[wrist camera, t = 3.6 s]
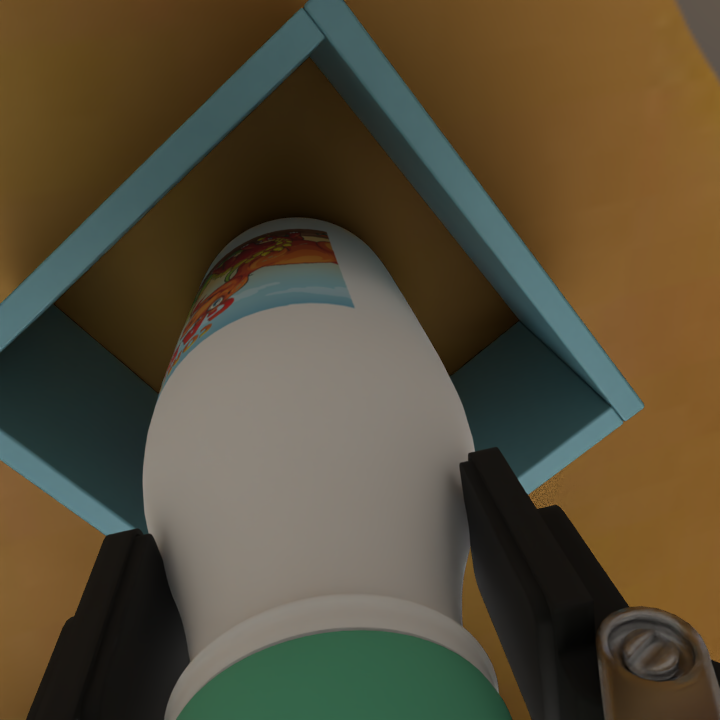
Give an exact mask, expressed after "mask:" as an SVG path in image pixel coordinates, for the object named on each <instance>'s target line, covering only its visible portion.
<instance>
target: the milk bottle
mask: <svg viewBox="0 0 720 720" xmlns="http://www.w3.org/2000/svg"><path fill="white" fill-rule="evenodd" d="M470 452H475V449H474V443H473V438H472V435H471V431H470V428H469V425H468V421H467V418H466V415H465V411H464V408H463V405H462V403H461V400H460V398H459V396H458V393H457V391H456V389H455V387H454V385H453V383H452V381H451V379H450V377H449V375H448V373H447V371H446V369H445V367H444V365H443V363H442V361H441V359H440V357H439V356H438V354H437V352H436V350H435V349H434V347H433V345H432V343H431V342H430V340H429V338H428V337H427V335H426V333H425V331H424V330H423V328H422V326H421V325H420V323H419V321H418V319H417V318H416V316H415V314H414V313H413V311H412V309H411V308H410V306H409V304H408V303H407V301H406V300H405V298H404V296H403V295H402V293H401V291H400V290H399V288H398V286H397V285H396V283H395V282H394V280H393V278H392V277H391V275H390V274H389V272H388V270H387V269H386V267H385V266H384V265H383V263H382V262H381V260H380V259H379V258H378V257H377V255H376V254H375V253H374V252H373V251H372V250H371V248H370V247H369V246H368V245H366V244H365V243H364V242H363V241H362V240H361V239H359V238H358V237H357V236H355V235H354V234H352V233H351V232H349V231H347V230H346V229H344V228H341V227H339V226H337V225H335V224H332V223H329V222H326V221H322V220H318V219H312V218H300V217H295V218H283V219H276V220H272V221H268V222H265V223H262V224H259V225H257V226H255V227H253V228H250V229H248V230H247V231H245V232H243V233H242V234H240V235H239V236H237V237H236V238H235V239H233V240H232V241H231V242H230V243H229V244H227V245H226V246H225V247H224V248H223V249H222V251H221V252H220V253H219V254H218V255H217V257H216V258H215V259H214V261H213V262H212V264H211V266H210V267H209V269H208V271H207V273H206V275H205V276H204V278H203V280H202V283H201V285H200V287H199V290H198V292H197V295H196V297H195V300H194V302H193V304H192V307H191V309H190V312H189V314H188V317H187V319H186V322H185V324H184V327H183V329H182V332H181V334H180V337H179V339H178V342H177V345H176V347H175V350H174V353H173V356H172V358H171V361H170V364H169V366H168V369H167V372H166V374H165V377H164V380H163V382H162V386H161V389H160V392H159V396H158V399H157V402H156V406H155V409H154V413H153V416H152V419H151V423H150V426H149V430H148V435H147V441H146V447H145V456H144V464H143V498H144V513H145V518H146V523H147V528H148V533H150V534H152V536H153V537H154V539H155V541H156V544H157V546H158V549H159V551H160V554H161V556H162V559H163V563H164V568H165V572H166V576H167V580H168V584H169V587H170V590H171V593H172V596H173V599H174V601H175V603H176V605H177V608H178V611H179V613H180V616H181V619H182V623H183V627H184V631H185V635H186V640H187V645H188V652H189V659H190V663H189V665H188V666H187V667H186V669H185V670H184V672H183V673H182V675H181V676H180V677H179V679H178V681H177V683H176V685H175V687H174V689H173V691H172V693H171V696H170V698H169V701H168V704H167V708H166V712H165V716H164V720H512V717H511V715H510V713H509V710H508V709H507V707H506V705H505V703H504V701H503V699H502V698H501V696H500V695H499V688H498V682H497V677H496V674H495V671H494V668H493V665H492V663H491V661H490V659H489V657H488V655H487V654H486V652H485V651H484V649H483V648H482V646H481V645H480V644H479V642H478V641H477V640H476V639H475V638H474V637H473V636H472V635H471V634H470V633H469V632H468V631H467V630H466V629H465V628H464V627H463V625H462V586H463V578H464V572H465V567H466V563H467V558H468V554H469V550H470V535H469V526H468V519H467V513H466V508H465V503H464V497H463V490H462V483H461V476H460V468H459V464H460V463H461V462H465V461H468V453H470Z"/></svg>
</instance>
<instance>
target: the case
mask: <svg viewBox="0 0 720 720" xmlns="http://www.w3.org/2000/svg"><path fill="white" fill-rule="evenodd" d="M309 56H310V58H311V59H312V60H313V61H314V63H315V64H316V65H317V66H318V68H319V69H320V70H321V72H322V73H323V74H324V75H325V77H326V78H327V79H328V80H329V82H330V83H331V84H332V85H333V87H334V88H335V89H336V90H337V92H338V93H339V94H340V95H341V97H342V98H343V99H344V100H345V102H346V103H347V104H348V105H349V107H350V108H351V109H352V110H353V112H354V113H355V114H356V115H357V117H358V118H359V119H360V120H361V122H362V123H363V124H364V126H365V127H366V128H367V129H368V131H369V132H370V133H371V134H372V136H373V137H374V138H375V139H376V141H377V142H378V143H379V144H380V146H381V147H382V148H383V149H384V151H385V152H386V153H387V154H388V156H389V157H390V158H391V159H392V161H393V162H394V163H395V164H396V166H397V167H398V168H399V169H400V171H401V172H402V173H403V174H404V176H405V177H406V178H407V180H408V181H409V182H410V183H411V185H412V186H413V187H414V188H415V190H416V191H417V192H418V193H419V195H420V196H421V197H422V198H423V200H424V201H425V202H426V203H427V205H428V206H429V207H430V208H431V210H432V211H433V212H434V213H435V215H436V216H437V217H438V218H439V220H440V221H441V222H442V223H443V225H444V226H445V227H446V228H447V230H448V231H449V232H450V234H451V235H452V236H453V237H454V239H455V240H456V241H457V242H458V244H459V245H460V246H461V247H462V249H463V250H464V251H465V252H466V254H467V255H468V256H469V257H470V259H471V260H472V261H473V262H474V264H475V265H476V266H477V267H478V269H479V270H480V271H481V272H482V274H483V275H484V276H485V277H486V279H487V280H488V281H489V282H490V284H491V285H492V286H493V288H494V289H495V290H496V291H497V293H498V294H499V295H500V296H501V298H502V299H503V300H504V301H505V303H506V304H507V305H508V306H509V308H510V309H511V310H512V311H513V313H514V314H515V315H516V316H517V318H518V319H519V320H520V321H521V322H520V321H519V322H517V323H516V324H515V325H513V326H512V327H511V328H510V329H509V330H507V331H506V332H505V333H504V334H502V335H501V336H500V337H499V338H497V339H496V340H495V341H494V342H492V343H491V344H490V345H489V346H488V347H486V348H485V349H484V350H483V351H481V352H480V353H479V354H478V355H476V356H475V357H474V358H473V359H471V360H470V361H469V362H468V363H467V364H465V365H464V366H463V367H462V368H460V369H459V370H458V371H457V372H455V373H454V374H453V375H452V376H450V379H451V381H452V383H453V385H454V387H455V389H456V391H457V393H458V396H459V398H460V400H461V403H462V405H463V408H464V411H465V415H466V418H467V421H468V425H469V428H470V431H471V435H472V438H473V443H474V449H475V451H479V450H484V449H488V448H492V447H498V448H499V450H500V451H501V453H502V454H503V456H504V458H505V459H506V461H507V462H508V464H509V466H510V467H511V469H512V470H513V472H514V474H515V475H516V477H517V478H518V480H519V482H520V483H521V485H522V486H523V488H524V490H525V491H526V493H527V494H530V493H531V492H532V491H534V490H535V489H536V488H538V487H539V486H540V485H542V484H543V483H544V482H546V481H547V480H548V479H550V478H551V477H552V476H554V475H555V474H556V473H558V472H559V471H560V470H562V469H563V468H564V467H566V466H567V465H568V464H570V463H571V462H572V461H574V460H575V459H576V458H578V457H579V456H580V455H582V454H583V453H584V452H586V451H587V450H588V449H590V448H591V447H592V446H594V445H595V444H596V443H598V442H599V441H600V440H602V439H603V438H604V437H606V436H607V435H608V434H610V433H611V432H612V431H614V430H615V429H616V428H618V427H619V426H620V425H622V424H623V421H627V420H628V419H629V418H631V417H632V416H633V415H635V414H636V413H637V412H639V411H640V410H641V409H643V408H644V403H643V402H642V401H641V399H640V398H639V397H638V395H637V394H636V393H635V391H634V390H633V389H632V387H631V386H630V385H629V383H628V382H627V381H626V379H625V378H624V377H623V375H622V374H621V372H620V371H619V370H618V368H617V367H616V366H615V364H614V363H613V362H612V360H611V359H610V358H609V356H608V355H607V354H606V352H605V351H604V350H603V348H602V347H601V346H600V344H599V343H598V342H597V340H596V339H595V338H594V336H593V335H592V334H591V332H590V331H589V329H588V328H587V327H586V325H585V324H584V323H583V321H582V320H581V319H580V317H579V316H578V315H577V313H576V312H575V311H574V309H573V308H572V307H571V305H570V304H569V303H568V301H567V300H566V299H565V297H564V296H563V295H562V293H561V292H560V291H559V289H558V288H557V286H556V285H555V284H554V282H553V281H552V280H551V278H550V277H549V276H548V274H547V273H546V272H545V270H544V269H543V268H542V266H541V265H540V264H539V262H538V261H537V260H536V258H535V257H534V256H533V254H532V253H531V252H530V250H529V249H528V248H527V246H526V245H525V243H524V242H523V241H522V239H521V238H520V237H519V235H518V234H517V233H516V231H515V230H514V229H513V227H512V226H511V225H510V223H509V222H508V221H507V219H506V218H505V217H504V215H503V214H502V213H501V211H500V210H499V209H498V207H497V206H496V205H495V203H494V202H493V200H492V199H491V198H490V196H489V195H488V194H487V192H486V191H485V190H484V188H483V187H482V186H481V184H480V183H479V182H478V180H477V179H476V178H475V176H474V175H473V174H472V172H471V171H470V170H469V168H468V167H467V166H466V164H465V163H464V162H463V160H462V159H461V157H460V156H459V155H458V153H457V152H456V151H455V149H454V148H453V147H452V145H451V144H450V143H449V141H448V140H447V139H446V137H445V136H444V135H443V133H442V132H441V131H440V129H439V128H438V127H437V125H436V124H435V123H434V121H433V120H432V119H431V117H430V116H429V114H428V113H427V112H426V110H425V109H424V108H423V106H422V105H421V104H420V102H419V101H418V100H417V98H416V97H415V96H414V94H413V93H412V92H411V90H410V89H409V88H408V86H407V85H406V84H405V82H404V81H403V80H402V78H401V77H400V76H399V74H398V73H397V71H396V70H395V69H394V67H393V66H392V65H391V63H390V62H389V61H388V59H387V58H386V57H385V55H384V54H383V53H382V51H381V50H380V49H379V47H378V46H377V45H376V43H375V42H374V41H373V39H372V38H371V37H370V35H369V34H368V33H367V31H366V30H365V28H364V27H363V26H362V24H361V23H360V22H359V20H358V19H357V18H356V16H355V15H354V14H353V12H352V11H351V10H350V8H349V7H348V6H347V4H346V3H345V2H344V0H308V1H307V2H306V3H305V5H304V8H300V9H299V10H298V11H297V12H296V13H295V14H294V15H293V16H292V17H291V18H290V19H289V20H288V21H287V22H286V23H285V24H284V25H283V26H282V27H281V28H280V29H279V30H278V31H277V32H276V33H275V34H274V35H273V36H272V37H271V38H270V39H269V40H268V41H267V42H266V43H265V44H264V45H263V46H262V47H261V48H260V49H259V50H257V51H256V52H255V53H254V54H253V55H252V56H251V57H250V58H249V59H248V60H247V61H246V62H245V63H244V64H243V65H242V66H241V67H240V68H239V69H238V70H237V71H236V72H235V73H234V74H233V75H232V76H231V77H230V78H229V79H228V80H227V81H226V82H225V83H224V84H223V85H222V86H221V87H220V88H219V89H218V90H217V91H216V92H215V93H214V94H213V95H212V96H211V97H210V98H209V99H208V100H207V101H206V102H205V103H204V104H203V105H202V106H201V107H200V108H199V109H198V110H197V111H196V112H195V113H194V114H193V115H191V116H190V117H189V118H188V119H187V120H186V121H185V122H184V123H183V124H182V125H181V126H180V127H179V128H178V129H177V130H176V131H175V132H174V133H173V134H172V135H171V136H170V137H169V138H168V139H167V140H166V141H165V142H164V143H163V144H162V145H161V146H160V147H159V148H158V149H157V150H156V151H155V152H154V153H153V154H152V155H151V156H150V157H149V158H148V159H147V160H146V161H145V162H144V163H143V164H142V165H141V166H140V167H139V168H138V169H137V170H136V171H135V172H134V173H133V174H132V175H131V176H130V177H129V178H128V179H127V180H125V181H124V182H123V183H122V184H121V185H120V186H119V187H118V188H117V189H116V190H115V191H114V192H113V193H112V194H111V195H110V196H109V197H108V198H107V199H106V200H105V201H104V202H103V203H102V204H101V205H100V206H99V207H98V208H97V209H96V210H95V211H94V212H93V213H92V214H91V215H90V216H89V217H88V218H87V219H86V220H85V221H84V222H83V223H82V224H81V225H80V226H79V227H78V228H77V229H76V230H75V231H74V232H73V233H72V234H71V235H70V236H69V237H68V238H67V239H66V240H65V241H64V242H63V243H62V244H61V245H60V246H58V247H57V248H56V249H55V250H54V251H53V252H52V253H51V254H50V255H49V256H48V257H47V258H46V259H45V260H44V261H43V262H42V263H41V264H40V265H39V266H38V267H37V268H36V269H35V270H34V271H33V272H32V273H31V274H30V275H29V276H28V277H27V278H26V279H25V280H24V281H23V282H22V283H21V284H20V285H19V286H18V287H17V288H16V289H15V290H14V291H13V292H12V293H11V294H10V295H9V296H8V297H7V298H6V299H5V300H4V301H3V302H2V303H1V304H0V460H1V461H3V462H4V463H5V464H7V465H8V466H10V467H11V468H12V469H14V470H15V471H16V472H18V473H19V474H21V475H22V476H23V477H25V478H26V479H28V480H29V481H30V482H32V483H33V484H35V485H36V486H37V487H39V488H40V489H42V490H43V491H44V492H46V493H47V494H49V495H50V496H51V497H53V498H54V499H56V500H57V501H58V502H60V503H61V504H63V505H64V506H65V507H67V508H68V509H70V510H71V511H72V512H74V513H75V514H76V515H78V516H79V517H81V518H82V519H83V520H85V521H86V522H88V523H89V524H90V525H92V526H93V527H95V528H96V529H97V530H99V531H100V532H102V533H103V534H104V535H106V536H107V535H109V534H114V533H118V532H122V531H127V530H131V529H136V528H138V529H140V530H141V531H142V532H143V534H149V533H148V528H147V523H146V518H145V513H144V498H143V464H144V456H145V447H146V441H147V435H148V430H149V426H150V423H151V419H152V416H153V413H154V409H155V406H156V402H157V399H158V396H159V394H158V393H157V392H155V391H154V390H153V389H152V388H151V387H150V386H148V385H147V384H146V383H145V382H144V381H143V380H141V379H140V378H139V377H138V376H137V375H136V374H134V373H133V372H132V371H131V370H130V369H128V368H127V367H126V366H125V365H124V364H123V363H121V362H120V361H119V360H118V359H117V358H116V357H114V356H113V355H112V354H111V353H110V352H109V351H107V350H106V349H105V348H104V347H103V346H102V345H100V344H99V343H98V342H97V341H96V340H95V339H93V338H92V337H91V336H90V335H89V334H87V333H86V332H85V331H84V330H83V329H82V328H80V327H79V326H78V325H77V324H76V323H75V322H73V321H72V320H71V319H70V318H69V317H68V316H66V315H65V314H64V313H63V312H62V311H61V310H59V309H58V308H57V307H56V306H55V305H54V304H53V303H54V302H55V301H56V300H57V299H59V298H60V297H61V296H62V295H63V294H64V293H65V292H66V291H67V290H68V289H69V288H70V287H71V286H72V285H73V284H74V283H75V282H76V281H77V280H78V279H79V278H80V277H81V276H82V275H83V274H84V273H85V272H87V271H88V270H89V269H90V268H91V267H92V266H93V265H94V264H95V263H96V262H97V261H98V260H99V259H100V258H101V257H102V256H103V255H104V254H105V253H106V252H107V251H108V250H109V249H110V248H111V247H112V246H113V245H115V244H116V243H117V242H118V241H119V240H120V239H121V238H122V237H123V236H124V235H125V234H126V233H127V232H128V231H129V230H130V229H131V228H132V227H133V226H134V225H135V224H136V223H137V222H138V221H139V220H140V219H141V218H142V217H144V216H145V215H146V214H147V213H148V212H149V211H150V210H151V209H152V208H153V207H154V206H155V205H156V204H157V203H158V202H159V201H160V200H161V199H162V198H163V197H164V196H165V195H166V194H167V193H168V192H169V191H170V190H172V189H173V188H174V187H175V186H176V185H177V184H178V183H179V182H180V181H181V180H182V179H183V178H184V177H185V176H186V175H187V174H188V173H189V172H190V171H191V170H192V169H193V168H194V167H195V166H196V165H197V164H198V163H200V162H201V161H202V160H203V159H204V158H205V157H206V156H207V155H208V154H209V153H210V152H211V151H212V150H213V149H214V148H215V147H216V146H217V145H218V144H219V143H220V142H221V141H222V140H223V139H224V138H225V137H226V136H228V135H229V134H230V133H231V132H232V131H233V130H234V129H235V128H236V127H237V126H238V125H239V124H240V123H241V122H242V121H243V120H244V119H245V118H246V117H247V116H248V115H249V114H250V113H251V112H252V111H253V110H254V109H256V108H257V107H258V106H259V105H260V104H261V103H262V102H263V101H264V100H265V99H266V98H267V97H268V96H269V95H270V94H271V93H272V92H273V91H274V90H275V89H276V88H277V87H278V86H279V85H280V84H281V83H282V82H284V81H285V80H286V79H287V78H288V77H289V76H290V75H291V74H292V73H293V72H294V71H295V70H296V69H297V68H298V67H299V66H300V65H301V64H302V63H303V62H304V61H305V60H306V59H307V58H308V57H309Z"/></svg>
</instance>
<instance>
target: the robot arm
mask: <svg viewBox="0 0 720 720" xmlns="http://www.w3.org/2000/svg"><path fill="white" fill-rule="evenodd" d="M459 468H460V476H461V483H462V490H463V497H464V503H465V508H466V513H467V519H468V526H469V535H470V546H471V553H472V560H473V567H474V573H475V578H476V581H477V585H478V588H479V590H480V593H481V595H482V598H483V600H484V603H485V605H486V608H487V610H488V613H489V615H490V618H491V620H492V622H493V625H494V627H495V630H496V632H497V635H498V637H499V640H500V642H501V645H502V647H503V649H504V652H505V654H506V657H507V659H508V662H509V664H510V667H511V669H512V672H513V674H514V676H515V679H516V681H517V684H518V686H519V689H520V691H521V694H522V696H523V699H524V701H525V703H526V706H527V708H528V711H529V713H530V716H531V718H532V720H720V663H718V662H716V661H713V660H711V659H710V655H709V652H708V649H707V647H706V645H705V643H704V641H703V639H702V637H701V636H700V635H699V634H698V633H697V631H696V630H695V629H694V628H693V627H692V626H691V625H690V624H689V623H687V622H685V621H684V620H682V619H681V618H679V617H678V616H676V615H674V614H671V613H669V612H666V611H663V610H661V609H657V608H650V607H643V606H639V607H629V606H628V604H627V603H626V602H625V600H624V599H623V597H622V596H621V594H620V593H619V591H618V590H617V588H616V587H615V585H614V584H613V583H612V581H611V580H610V578H609V577H608V575H607V574H606V572H605V571H604V569H603V568H602V567H601V565H600V564H599V562H598V561H597V559H596V558H595V556H594V555H593V553H592V552H591V551H590V549H589V548H588V546H587V545H586V543H585V542H584V540H583V539H582V537H581V536H580V534H579V533H578V532H577V530H576V529H575V527H574V526H573V524H572V523H571V521H570V520H569V518H568V517H567V516H566V514H565V513H564V511H563V510H562V509H561V508H560V507H559V506H557V505H553V506H549V507H545V508H540V509H536V507H535V506H534V504H533V502H532V501H531V499H530V498H529V496H528V494H527V493H526V491H525V490H524V488H523V486H522V485H521V483H520V482H519V480H518V478H517V477H516V475H515V474H514V472H513V470H512V469H511V467H510V466H509V464H508V462H507V461H506V459H505V458H504V456H503V454H502V453H501V451H500V450H499V448H498V447H492V448H488V449H484V450H479V451H475V452H470V453H468V461H465V462H461V463H460V464H459ZM189 663H190V659H189V652H188V645H187V640H186V635H185V631H184V627H183V623H182V619H181V616H180V613H179V611H178V608H177V605H176V603H175V601H174V599H173V596H172V593H171V590H170V587H169V584H168V580H167V576H166V572H165V568H164V563H163V559H162V556H161V554H160V551H159V549H158V546H157V544H156V541H155V539H154V537H153V536H152V534H150V533H149V534H143V532H142V531H141V530H140V529H138V528H136V529H131V530H127V531H122V532H118V533H114V534H109V535H107V536H106V537H105V539H104V541H103V543H102V546H101V549H100V551H99V554H98V556H97V559H96V562H95V564H94V567H93V569H92V572H91V574H90V577H89V580H88V582H87V585H86V587H85V590H84V593H83V595H82V598H81V600H80V603H79V606H78V608H77V611H76V613H75V616H74V617H71V618H70V619H68V620H67V621H66V623H65V625H64V627H63V628H62V631H61V633H60V636H59V638H58V641H57V643H56V646H55V648H54V651H53V653H52V656H51V658H50V661H49V663H48V666H47V668H46V671H45V673H44V676H43V678H42V681H41V683H40V686H39V688H38V691H37V693H36V696H35V698H34V701H33V703H32V706H31V708H30V711H29V713H28V716H27V718H26V720H164V716H165V712H166V708H167V704H168V701H169V698H170V696H171V693H172V691H173V689H174V687H175V685H176V683H177V681H178V679H179V677H180V676H181V675H182V673H183V672H184V670H185V669H186V667H187V666H188V665H189Z"/></svg>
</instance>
